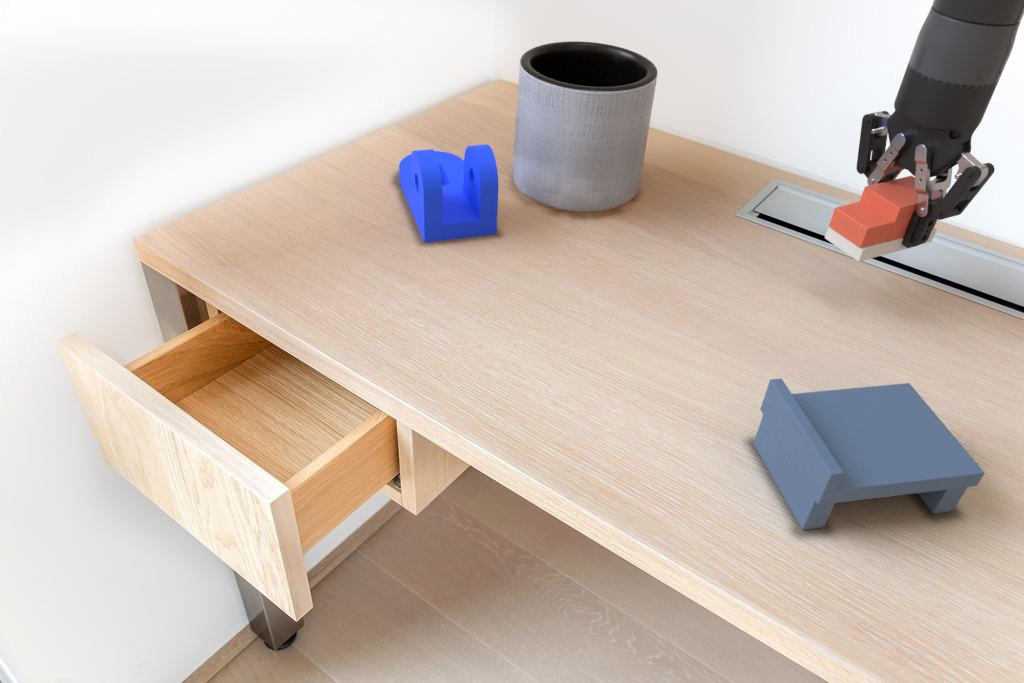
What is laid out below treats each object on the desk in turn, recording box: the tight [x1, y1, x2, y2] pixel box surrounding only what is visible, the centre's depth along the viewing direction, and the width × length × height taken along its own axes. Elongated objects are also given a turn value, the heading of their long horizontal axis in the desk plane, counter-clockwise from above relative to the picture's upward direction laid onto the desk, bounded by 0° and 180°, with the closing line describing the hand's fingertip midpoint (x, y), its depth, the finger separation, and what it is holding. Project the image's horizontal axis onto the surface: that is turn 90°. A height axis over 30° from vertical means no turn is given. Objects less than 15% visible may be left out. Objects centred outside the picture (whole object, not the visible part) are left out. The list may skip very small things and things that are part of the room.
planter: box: [511, 41, 659, 214], centre depth 95 cm, size 16×16×16 cm
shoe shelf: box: [753, 378, 986, 531], centre depth 62 cm, size 13×10×7 cm
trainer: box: [824, 175, 939, 263], centre depth 79 cm, size 10×5×5 cm, turn 115°
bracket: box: [398, 144, 499, 243], centre depth 93 cm, size 18×8×9 cm, turn 17°
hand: (890, 231), depth 81 cm, fingers closed on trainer, 4 cm apart
